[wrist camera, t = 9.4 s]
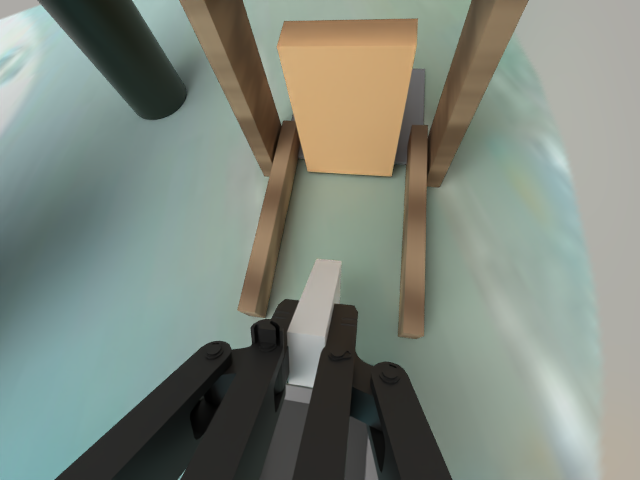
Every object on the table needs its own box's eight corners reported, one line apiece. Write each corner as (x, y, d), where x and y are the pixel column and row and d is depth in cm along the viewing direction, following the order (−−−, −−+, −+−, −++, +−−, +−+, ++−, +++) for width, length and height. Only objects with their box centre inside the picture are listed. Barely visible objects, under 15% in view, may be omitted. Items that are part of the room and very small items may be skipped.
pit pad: (373, 565, 16) (374, 580, 15) (233, 529, 17) (224, 540, 16) (383, 399, 19) (384, 402, 18) (262, 379, 20) (257, 380, 19)
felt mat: (421, 165, 25) (422, 163, 25) (284, 158, 27) (283, 156, 27) (424, 71, 29) (424, 68, 29) (303, 70, 31) (303, 68, 31)
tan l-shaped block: (391, 176, 25) (416, 45, 14) (307, 171, 26) (276, 46, 16) (398, 71, 29) (421, -86, 19) (326, 70, 30) (312, -79, 20)
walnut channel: (439, 342, 20) (649, 289, 6) (230, 313, 22) (7, 223, 8) (439, 147, 26) (543, -121, 12) (273, 139, 28) (189, -92, 14)
